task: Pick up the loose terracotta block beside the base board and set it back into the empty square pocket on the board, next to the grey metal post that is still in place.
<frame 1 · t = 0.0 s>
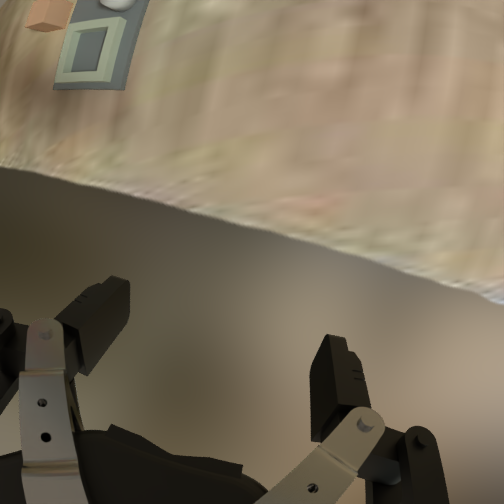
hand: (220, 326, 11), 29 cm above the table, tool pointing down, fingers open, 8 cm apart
block: (59, 18, 30), on the table
base board: (100, 35, 32), on the table
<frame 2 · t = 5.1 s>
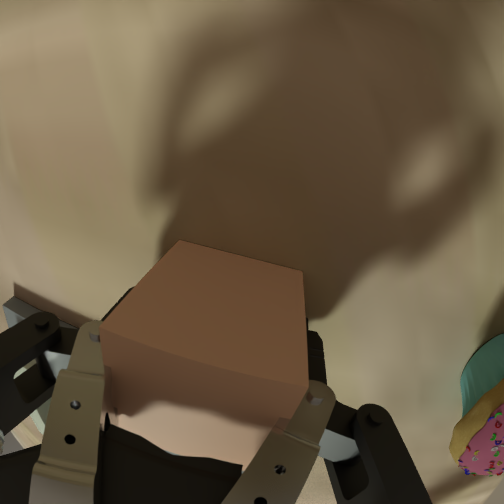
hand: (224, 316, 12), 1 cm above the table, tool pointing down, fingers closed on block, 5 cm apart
block: (228, 307, 13), on the table, touching gripper
cupcake: (489, 362, 13), on the table
base board: (130, 416, 17), on the table
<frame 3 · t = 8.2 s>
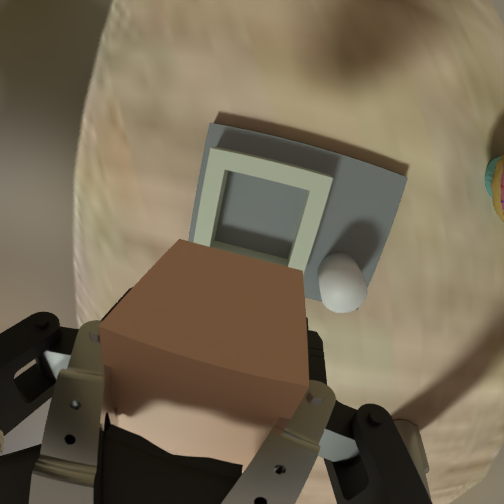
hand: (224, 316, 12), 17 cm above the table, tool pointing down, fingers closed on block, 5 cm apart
block: (228, 307, 13), point 16 cm above the table, touching gripper
cupcake: (498, 179, 23), on the table
base board: (292, 218, 28), on the table
when the fingers open (4 cm above the table, at t = 11.4 s): block drops 2 cm, resting on base board.
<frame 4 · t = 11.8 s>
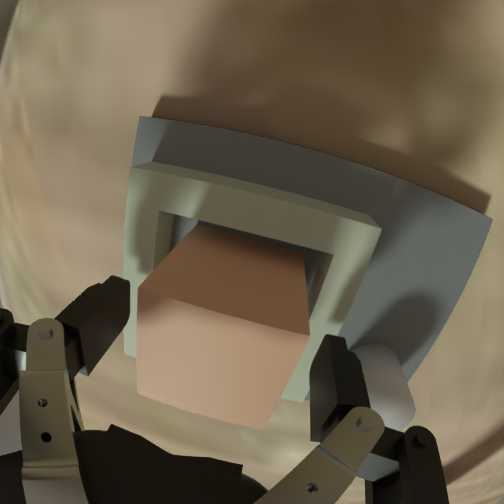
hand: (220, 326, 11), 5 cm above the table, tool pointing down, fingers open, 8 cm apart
block: (237, 285, 15), point 1 cm above the table, touching base board
base board: (295, 288, 16), on the table
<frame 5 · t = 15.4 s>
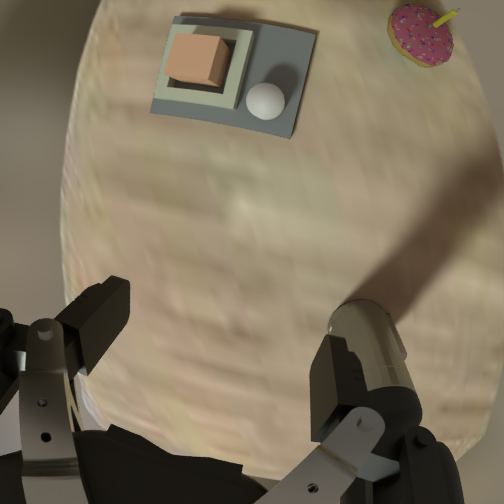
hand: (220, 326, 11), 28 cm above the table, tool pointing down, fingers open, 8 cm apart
block: (206, 66, 31), point 1 cm above the table, touching base board
cupcake: (408, 43, 27), on the table
base board: (230, 71, 32), on the table
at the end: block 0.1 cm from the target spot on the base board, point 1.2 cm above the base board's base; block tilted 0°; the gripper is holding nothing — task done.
